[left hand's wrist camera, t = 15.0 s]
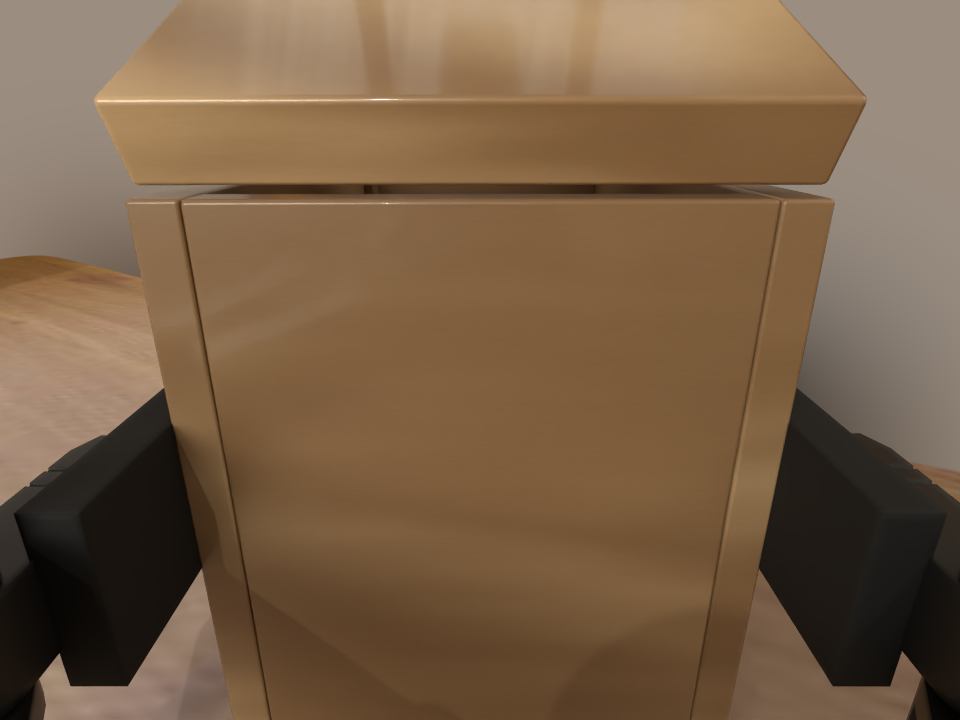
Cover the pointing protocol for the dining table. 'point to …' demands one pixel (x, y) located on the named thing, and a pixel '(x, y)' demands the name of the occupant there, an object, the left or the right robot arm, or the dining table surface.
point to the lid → (480, 94)
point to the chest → (480, 436)
